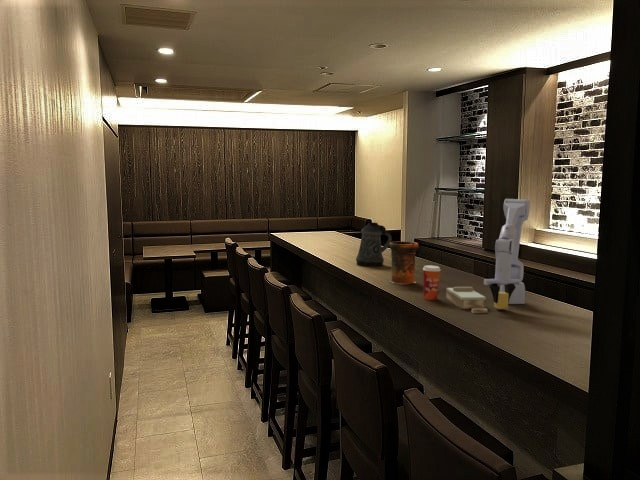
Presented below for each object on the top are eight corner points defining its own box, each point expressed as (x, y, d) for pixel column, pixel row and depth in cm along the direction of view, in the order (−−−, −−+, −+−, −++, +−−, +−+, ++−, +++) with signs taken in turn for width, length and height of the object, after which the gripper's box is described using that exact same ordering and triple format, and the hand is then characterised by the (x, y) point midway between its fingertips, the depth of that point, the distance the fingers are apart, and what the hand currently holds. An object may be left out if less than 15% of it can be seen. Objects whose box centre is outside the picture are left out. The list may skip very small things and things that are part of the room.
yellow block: (503, 306, 213) (504, 291, 212) (507, 308, 209) (508, 293, 209) (493, 306, 213) (494, 291, 212) (498, 308, 209) (499, 293, 208)
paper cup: (426, 301, 224) (427, 268, 222) (418, 296, 231) (419, 265, 230) (442, 300, 226) (444, 268, 224) (434, 296, 233) (435, 265, 232)
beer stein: (351, 263, 318) (352, 221, 315) (378, 261, 326) (380, 221, 323) (364, 267, 303) (366, 224, 300) (393, 265, 311) (394, 223, 308)
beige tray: (468, 298, 230) (468, 290, 230) (492, 313, 206) (492, 304, 206) (446, 298, 229) (446, 290, 229) (467, 313, 205) (467, 304, 205)
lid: (468, 290, 230) (469, 284, 230) (485, 299, 212) (486, 293, 212) (446, 290, 229) (446, 284, 229) (461, 299, 211) (462, 293, 211)
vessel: (404, 286, 253) (405, 244, 251) (382, 281, 264) (383, 242, 262) (423, 282, 262) (424, 242, 261) (401, 278, 273) (402, 240, 271)
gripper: (489, 270, 204) (487, 304, 206) (525, 270, 206) (523, 304, 208) (482, 267, 211) (480, 300, 213) (517, 267, 213) (514, 300, 215)
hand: (501, 302), depth 211 cm, fingers closed on yellow block, 4 cm apart
